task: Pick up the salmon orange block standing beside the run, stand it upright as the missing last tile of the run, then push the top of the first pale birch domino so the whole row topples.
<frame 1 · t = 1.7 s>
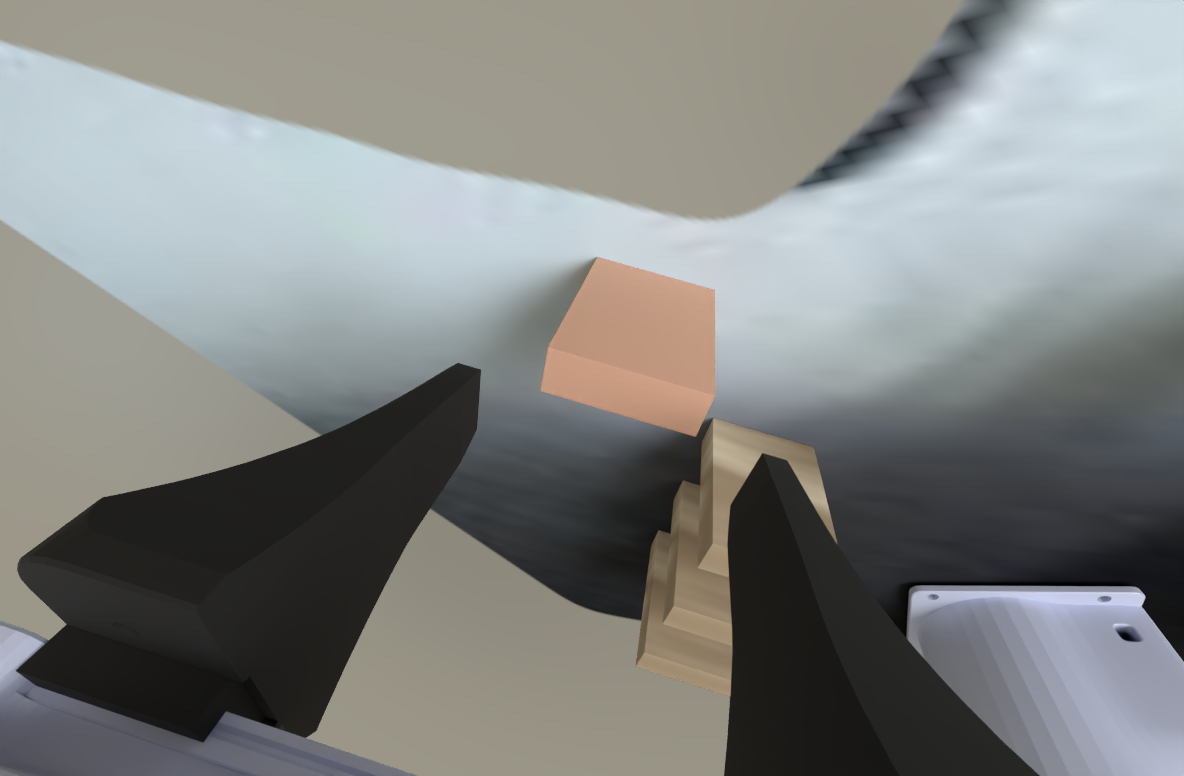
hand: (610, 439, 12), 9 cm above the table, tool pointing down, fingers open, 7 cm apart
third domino: (756, 444, 22), on the table
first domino: (693, 550, 28), on the table
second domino: (721, 503, 25), on the table
salmon orange block: (650, 291, 19), on the table
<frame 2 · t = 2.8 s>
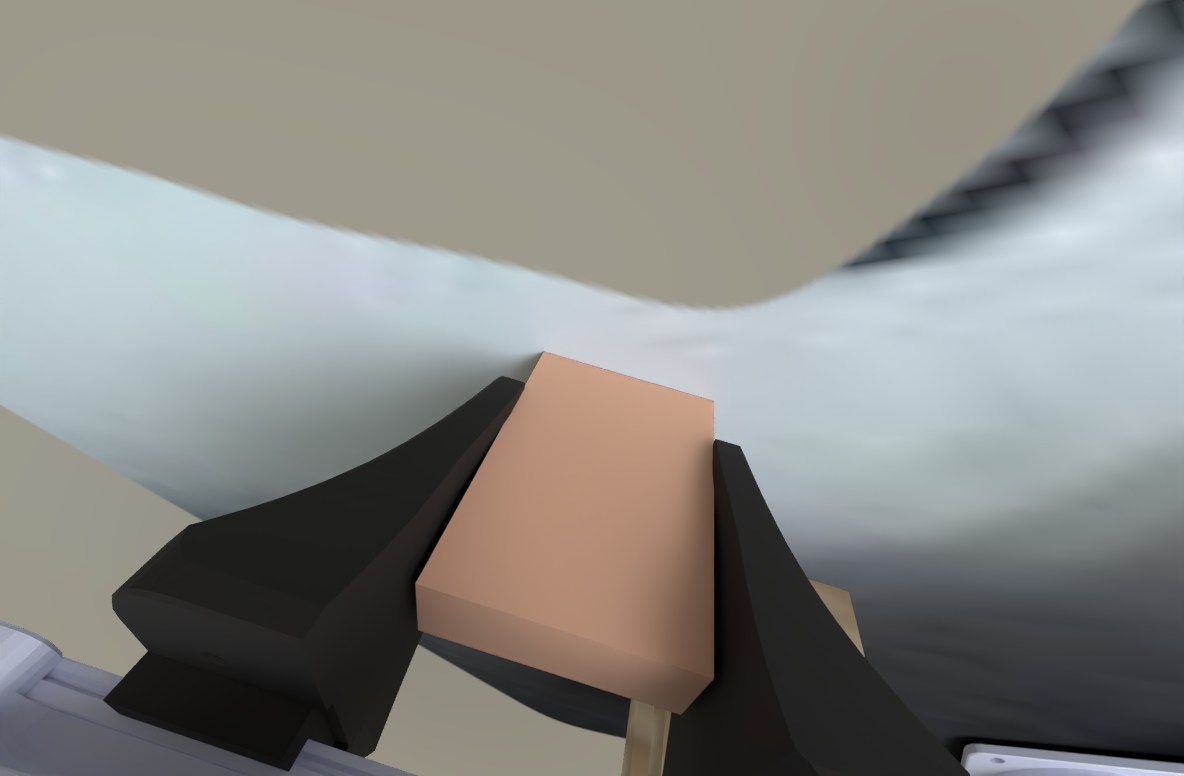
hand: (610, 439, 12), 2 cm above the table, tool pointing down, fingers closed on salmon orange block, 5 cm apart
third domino: (770, 582, 17), on the table
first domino: (688, 680, 22), on the table
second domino: (723, 638, 19), on the table
salmon orange block: (621, 398, 13), on the table, touching gripper
when the fingers open (3 cm above the table, at t = 6.7 s): salmon orange block drops 1 cm, on the table.
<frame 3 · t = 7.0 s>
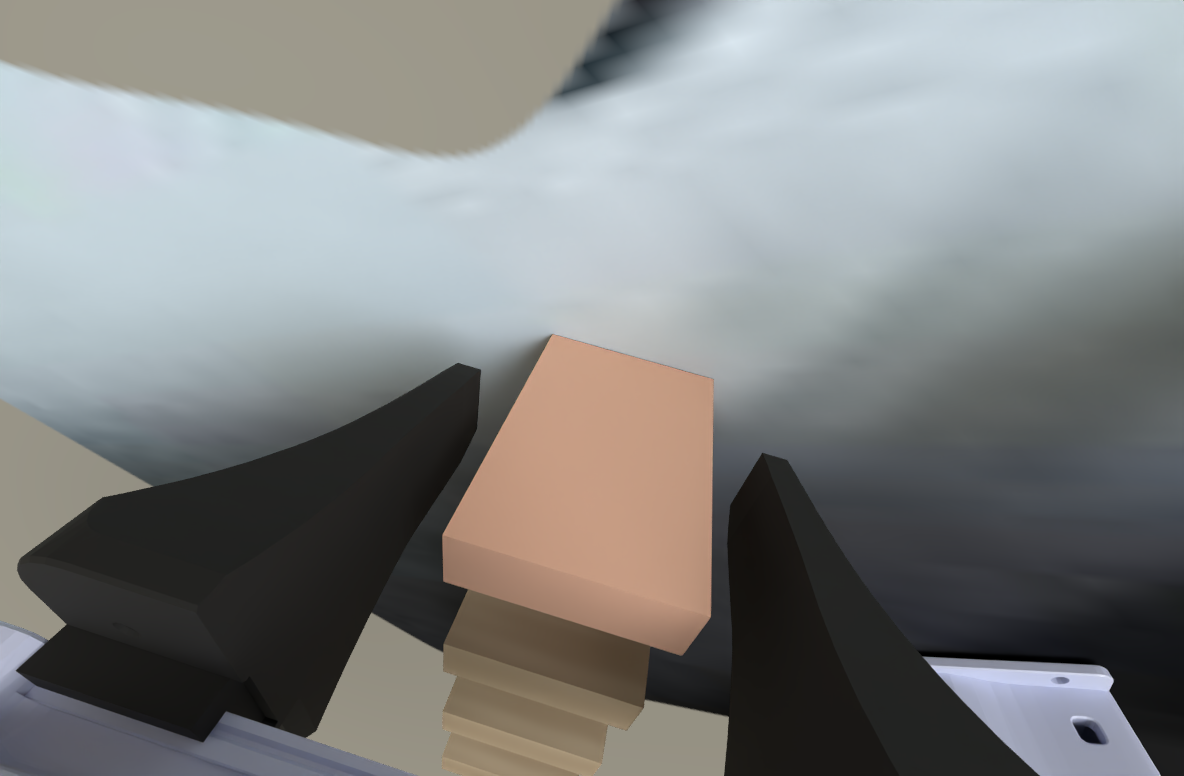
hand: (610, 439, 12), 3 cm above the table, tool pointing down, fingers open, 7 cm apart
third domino: (596, 476, 17), on the table
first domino: (557, 600, 22), on the table
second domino: (574, 547, 20), on the table
salmon orange block: (625, 378, 14), on the table
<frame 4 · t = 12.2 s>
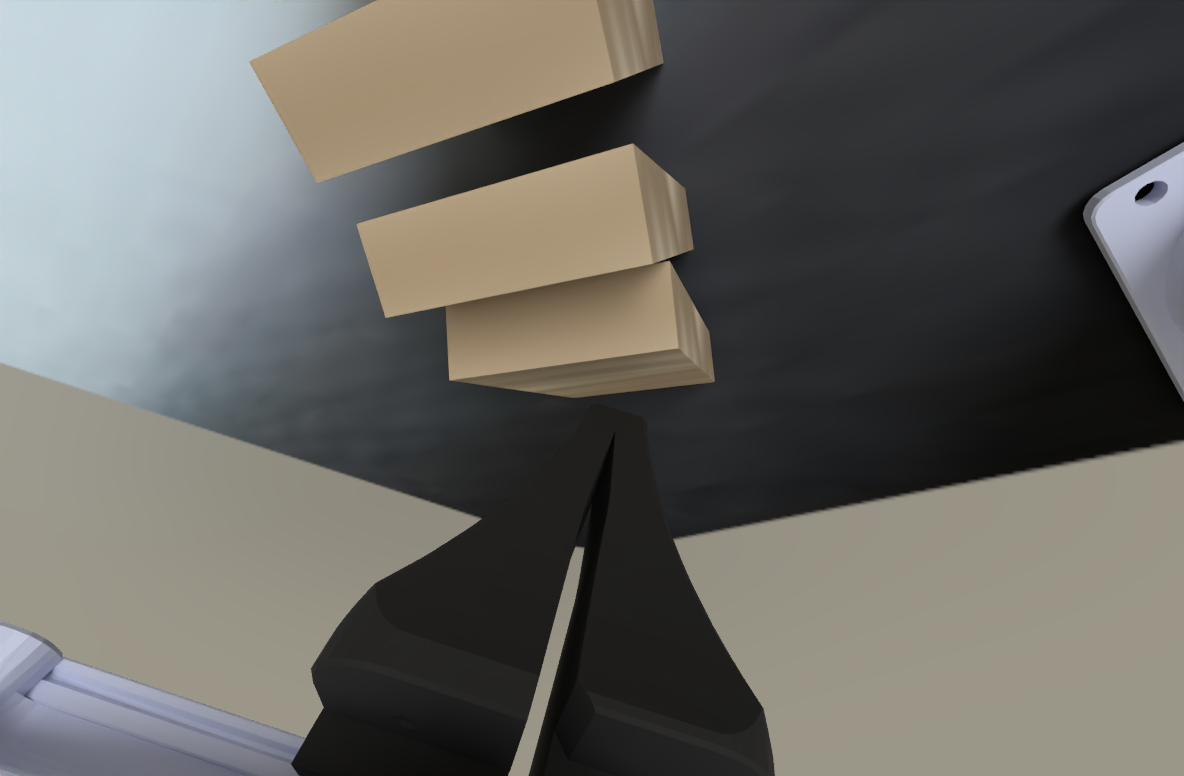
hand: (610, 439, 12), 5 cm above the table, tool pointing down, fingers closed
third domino: (560, 58, 12), on the table
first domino: (638, 366, 16), on the table, tilted 40°
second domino: (606, 238, 14), on the table, tilted 18°
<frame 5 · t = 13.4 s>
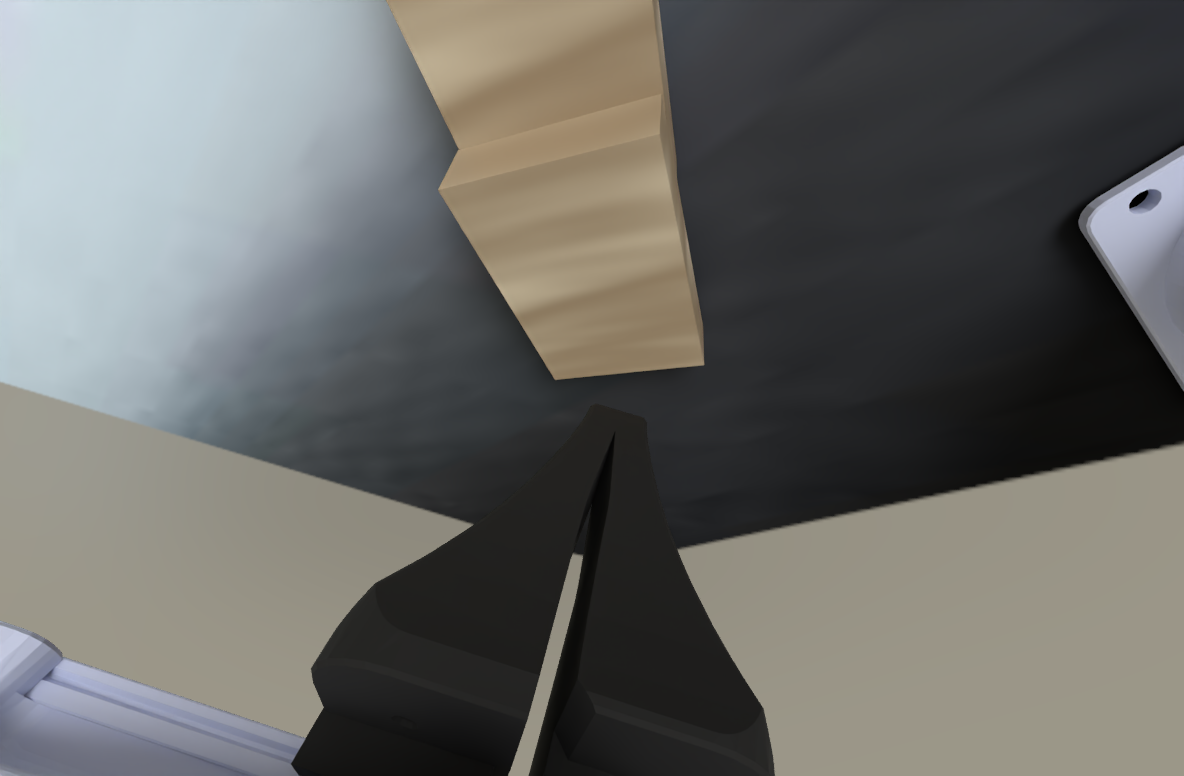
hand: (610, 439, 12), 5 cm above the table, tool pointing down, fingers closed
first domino: (627, 352, 15), point 1 cm above the table, tilted 70°, touching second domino
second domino: (585, 195, 13), point 1 cm above the table, tilted 70°, touching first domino, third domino
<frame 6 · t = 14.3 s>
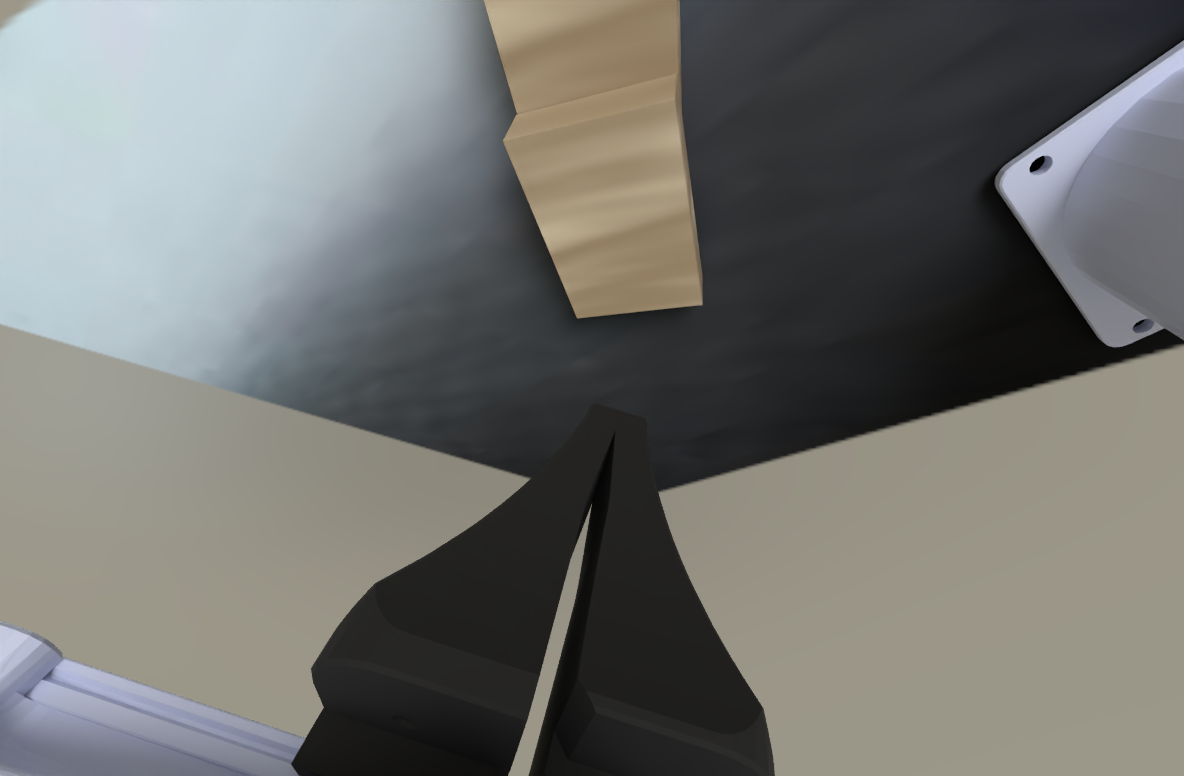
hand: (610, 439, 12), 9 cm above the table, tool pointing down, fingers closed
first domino: (638, 297, 18), point 1 cm above the table, tilted 72°, touching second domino
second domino: (606, 141, 15), point 1 cm above the table, tilted 69°, touching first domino, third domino
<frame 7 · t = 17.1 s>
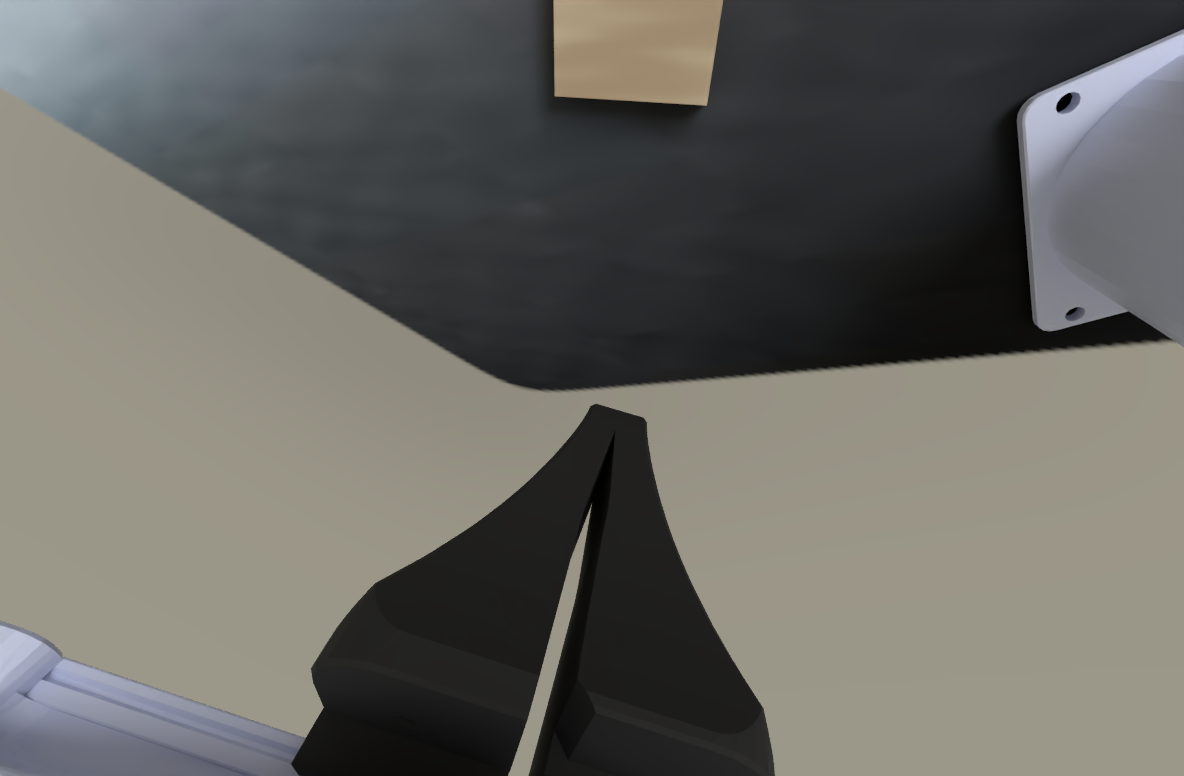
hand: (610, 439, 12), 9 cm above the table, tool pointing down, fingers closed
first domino: (632, 98, 15), on the table, tilted 90°
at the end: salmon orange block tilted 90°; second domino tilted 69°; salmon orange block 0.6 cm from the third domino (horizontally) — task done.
